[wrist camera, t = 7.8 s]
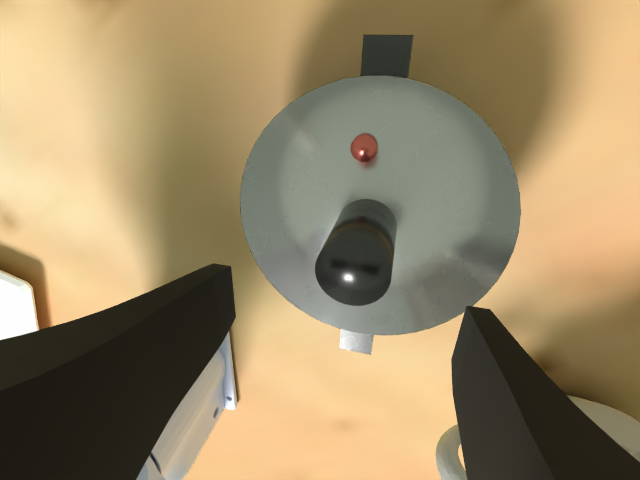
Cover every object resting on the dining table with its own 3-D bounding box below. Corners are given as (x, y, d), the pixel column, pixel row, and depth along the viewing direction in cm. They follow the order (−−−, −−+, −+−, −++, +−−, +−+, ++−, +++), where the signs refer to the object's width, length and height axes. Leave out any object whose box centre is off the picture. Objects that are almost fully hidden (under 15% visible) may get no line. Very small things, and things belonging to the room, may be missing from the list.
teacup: (693, 438, 21) (831, 620, 14) (544, 497, 26) (590, 650, 19) (514, 310, 20) (567, 436, 13) (398, 397, 26) (391, 519, 19)
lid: (493, 338, 17) (519, 424, 13) (265, 315, 20) (225, 379, 16) (543, 61, 12) (613, 56, 8) (225, 86, 15) (151, 93, 11)
